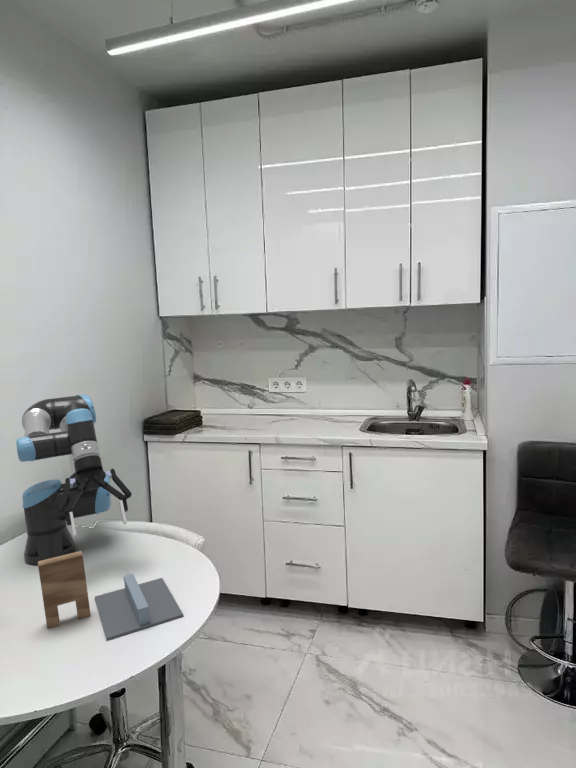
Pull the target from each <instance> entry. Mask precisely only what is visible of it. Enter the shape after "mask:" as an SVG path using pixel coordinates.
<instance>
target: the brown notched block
mask: <svg viewBox="0 0 576 768" xmlns="http://www.w3.org/2000/svg"><path fill="white" fill-rule="evenodd" d="M37 567H38V573H39V581H40V582H39V583H40V587H41V593H42V594H41V595H42V602H43V609H44V616H45V623H46V628H47V629H48V630H49V629H50V628H54V627H58V626H61V621H60V614H59V607H58V606H61V605H64V604H65V605H66V604H69V603H72V602H73V603H74V602H75V608H76V614H77V619H78V620H81V619H86V618H89V617H91V616H92V615H91V609H90V601H89V600H90V599H89V593H88V585H87V577H86V576H87V575H86V571H85V562H84V555H83V552H82V550H79V551H75V552H74V553H71V554H66V555H62V556H58V557H54V558H50V559H46V560H42V561H38V565H37Z"/></svg>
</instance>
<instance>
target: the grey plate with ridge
mask: <svg viewBox="0 0 576 768" xmlns="http://www.w3.org/2000/svg"><path fill="white" fill-rule="evenodd" d="M123 583H124V588H120V589H117V590H114V591H109V592H106V593H103V594H99V595H96V596H94V600H95V605H96V607H97V611H98V614H99V619H100V622H101V626H102V628H103V633H104V637H105V639H106V641H110V640H113V639H117V638H120V637H123V636H125V635H129V634H133V633H136V632H139V631H143V630H146V629H148V628H152V627H154V626H157V625H161V624H164V623H168V622H171V621H174V620H177V619H180V618H184V613H183V611H182V609H181V608H180V606H179V605H178V602H177V601H176V599H175V597H174V595H173V594H172V592H171V590H170V588H169V587H168V585H167V583H166V581H165V580H164V579H163V577H160V578H156V579H153V580H150V581H149V580H148V581H146V582H142V583H138V581H137V578H136V576H135V574H134V573H129V574H125V575H123Z"/></svg>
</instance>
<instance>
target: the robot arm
mask: <svg viewBox="0 0 576 768" xmlns="http://www.w3.org/2000/svg"><path fill="white" fill-rule="evenodd" d="M94 407H95V405H94V403H93V400H92V399H91V397H90V396H89V395H88V394H76V395H72V396H71V395H70V396H63V397H53V398H45V399H42V400H39V401H38V402H35V403H33V404H32V405H31V406H29V407H28V408H27V409H26V410H25V411H24V413H23V415H22V417H21V425H22V428H23V429H24V436H23V437H19V438H17V439H16V441H15V442H16V443H15V444H16V451H17V452H16V453H17V458H18V460H19V461H20V462H21V463H25V462H35V461H40V460H45V459H50V458H51V459H52V458H56V457H63V456H68V460H69V464H70V465H69V466H70V470H71V471H70V473H71V474H70V476H69V477H66V478H65V479H64V483H62V482H61V480H60V479H49V480H44V481H40V482H38V483H35V484H33V485H31V486H30V487H28V488H26V489H25V490H24V491H23V493H22V495H21V497H22V509H23V512H24V519H25V526H26V534H27V538H26V543H25V546H24V553H23V557H24V561H25V563H26V564H28V565H32V566H38V561H42V560H46V559H50V558H54V557H58V556H62V555H66V554H71V553H75V552H76V548H77V547H76V542H75V540H74V538H75V537H77V531H76V525H75V519H77V518H81V517H83V518H84V517H87V516H92V515H98V514H101V513H105V512H108V511H109V510H110V509H111V507H112V505H111V502H112V501H111V499H112V498H111V495H113V497H115V498H116V499H118V500H119V502H118V504H119V509H120V513H121V519H122V524H123V525H127V523H128V521H127V517H126V512H128V510H129V505H128V503H127V502H128V501H127V500H128V499H130V498H132V492H131V490H130V489H129V488H128V487H127V486H126V485H125V484H124V482H123V481H122V479H120V477H118V476H117V473H116V471H115V468H110V470H107V471H104V467H103V464H102V458H101V457H100V448H99V444H98V441H97V440H98V439H97V434H96V433H97V432H96V429H95V423H97V421H96V420H97V415H96V410H95V408H94ZM51 430H60V431H55V432H51V433H50V431H51ZM110 479H111V480H112V481H113V483H114V484H115V485H116V486H117V488H119V489H120V490H121V491H119V490H118V489H116V488H115V487H113V486H112V485H111V481H110ZM69 526H71V529H72V530H71V531H72V534H71V532H70V531H69V529H68V527H69ZM72 535H73V536H72Z"/></svg>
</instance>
